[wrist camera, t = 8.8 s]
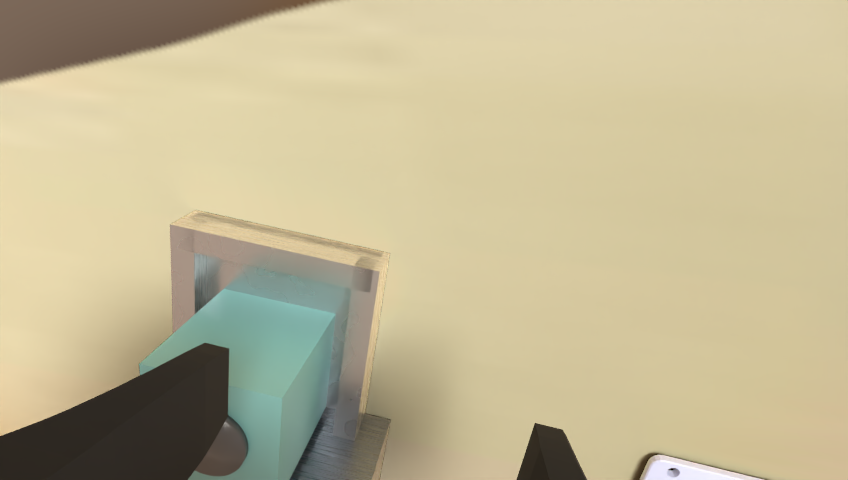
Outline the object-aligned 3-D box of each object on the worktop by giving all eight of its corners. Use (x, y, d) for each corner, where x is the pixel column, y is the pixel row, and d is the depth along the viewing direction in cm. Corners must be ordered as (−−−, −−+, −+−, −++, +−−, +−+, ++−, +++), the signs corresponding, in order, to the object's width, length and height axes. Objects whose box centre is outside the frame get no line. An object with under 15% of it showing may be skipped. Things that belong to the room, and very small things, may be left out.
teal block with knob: (325, 406, 24) (272, 514, 19) (223, 381, 24) (141, 480, 19) (335, 313, 22) (278, 404, 17) (223, 288, 22) (133, 369, 17)
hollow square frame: (419, 259, 21) (386, 341, 16) (372, 522, 27) (335, 648, 22) (141, 197, 22) (17, 254, 17) (155, 464, 28) (67, 571, 23)
